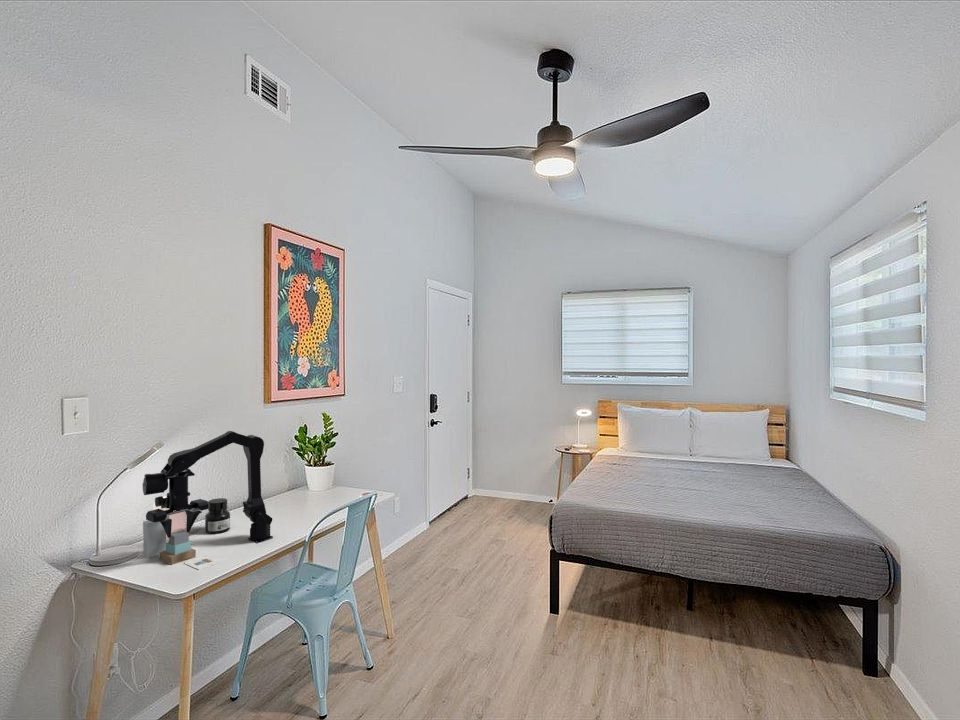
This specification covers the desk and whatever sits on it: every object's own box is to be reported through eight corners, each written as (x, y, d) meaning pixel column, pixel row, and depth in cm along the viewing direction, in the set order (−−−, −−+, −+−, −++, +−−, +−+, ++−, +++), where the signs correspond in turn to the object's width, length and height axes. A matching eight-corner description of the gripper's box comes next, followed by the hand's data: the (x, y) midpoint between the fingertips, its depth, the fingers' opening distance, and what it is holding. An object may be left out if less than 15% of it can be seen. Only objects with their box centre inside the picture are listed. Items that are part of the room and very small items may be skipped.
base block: (183, 553, 186) (183, 545, 186) (195, 558, 181) (195, 549, 181) (159, 560, 179) (159, 552, 179) (171, 566, 175) (171, 557, 175)
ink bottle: (208, 536, 201) (208, 505, 201) (200, 530, 207) (200, 500, 207) (234, 530, 208) (234, 500, 208) (226, 525, 214) (226, 496, 214)
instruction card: (204, 556, 182) (204, 555, 182) (219, 562, 177) (219, 561, 177) (184, 563, 176) (184, 562, 176) (198, 569, 171) (198, 569, 171)
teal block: (181, 546, 184) (181, 538, 184) (191, 549, 181) (190, 541, 181) (165, 551, 179) (165, 543, 179) (175, 554, 177) (175, 546, 177)
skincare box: (161, 550, 187) (161, 517, 187) (166, 553, 184) (166, 519, 184) (142, 555, 182) (142, 521, 182) (147, 558, 180) (147, 523, 179)
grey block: (182, 538, 183) (182, 530, 183) (188, 541, 181) (188, 533, 181) (168, 542, 180) (168, 533, 180) (174, 545, 177) (174, 536, 177)
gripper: (193, 481, 192) (193, 523, 193) (137, 492, 177) (137, 538, 177) (210, 485, 186) (209, 529, 187) (154, 497, 171) (154, 545, 171)
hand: (178, 534), depth 180 cm, fingers open, 6 cm apart
